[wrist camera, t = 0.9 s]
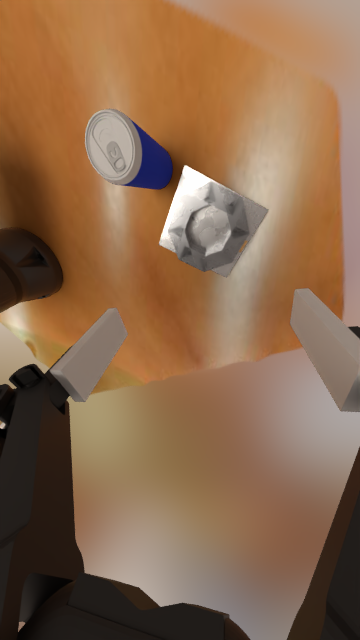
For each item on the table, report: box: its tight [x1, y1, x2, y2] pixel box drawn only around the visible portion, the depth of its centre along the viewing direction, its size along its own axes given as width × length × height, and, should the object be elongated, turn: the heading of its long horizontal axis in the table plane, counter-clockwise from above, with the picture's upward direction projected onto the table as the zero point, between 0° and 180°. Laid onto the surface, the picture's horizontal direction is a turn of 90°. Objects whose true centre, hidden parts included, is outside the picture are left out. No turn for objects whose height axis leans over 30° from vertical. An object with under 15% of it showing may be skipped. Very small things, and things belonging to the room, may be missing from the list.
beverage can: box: [85, 109, 173, 189], centre depth 22 cm, size 5×5×15 cm
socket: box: [159, 165, 268, 278], centre depth 30 cm, size 14×12×4 cm
